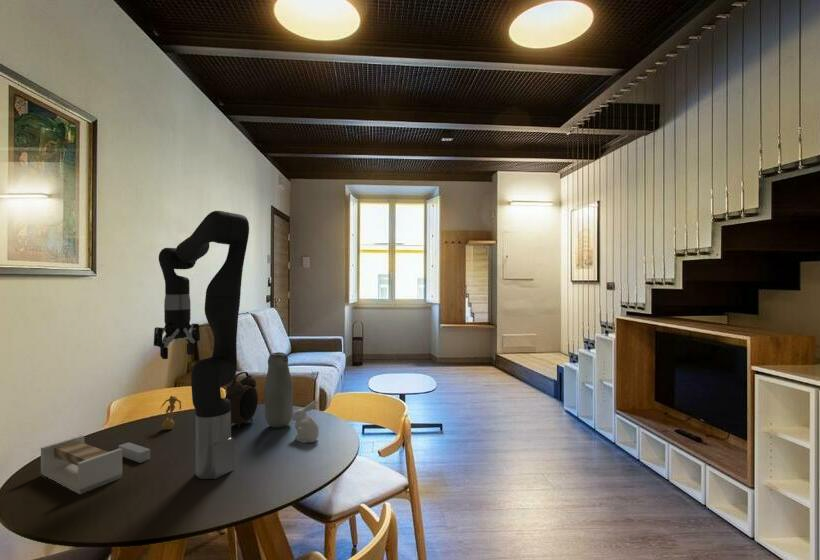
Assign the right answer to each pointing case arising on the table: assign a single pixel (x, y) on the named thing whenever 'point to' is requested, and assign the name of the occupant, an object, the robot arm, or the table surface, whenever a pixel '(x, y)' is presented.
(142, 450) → the block
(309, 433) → the rabbit
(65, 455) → the shelf board
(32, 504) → the table surface
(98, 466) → the shelf frame
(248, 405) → the alarm clock
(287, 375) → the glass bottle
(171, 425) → the figurine
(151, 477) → the table surface
